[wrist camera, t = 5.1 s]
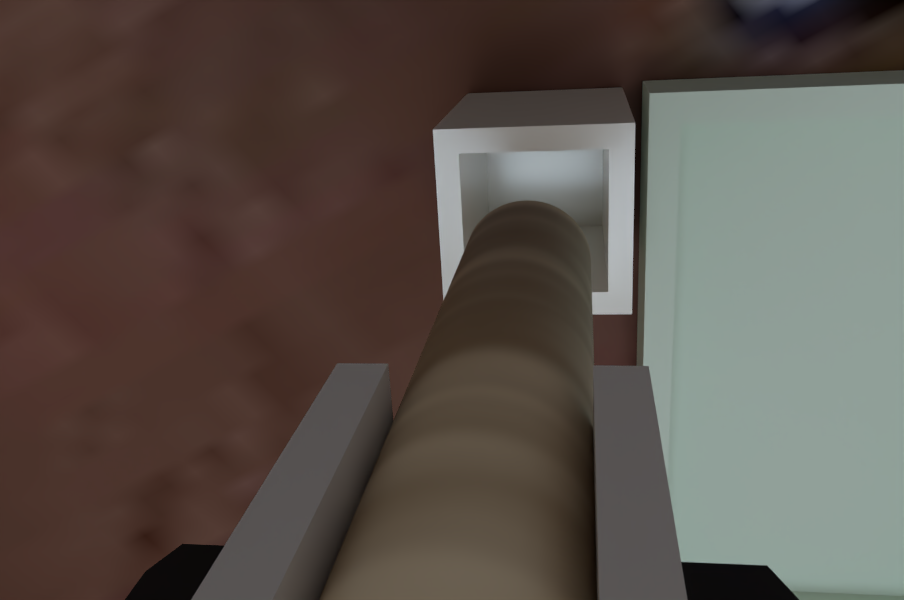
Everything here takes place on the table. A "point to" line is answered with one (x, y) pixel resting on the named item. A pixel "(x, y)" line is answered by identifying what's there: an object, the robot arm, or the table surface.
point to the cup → (543, 174)
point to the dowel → (490, 433)
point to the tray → (779, 322)
